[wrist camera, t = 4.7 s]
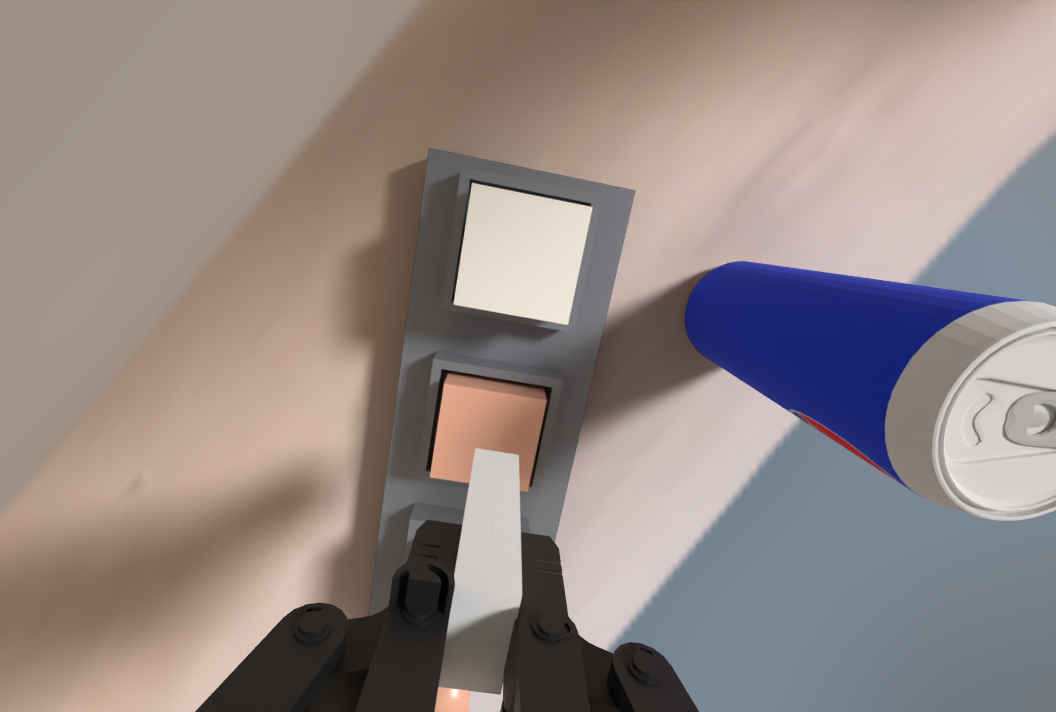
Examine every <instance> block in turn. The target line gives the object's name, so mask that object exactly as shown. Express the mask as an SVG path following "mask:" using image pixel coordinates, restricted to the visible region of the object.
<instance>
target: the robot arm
mask: <svg viewBox="0 0 1056 712" xmlns="http://www.w3.org/2000/svg"><path fill="white" fill-rule="evenodd" d="M560 563H561V561H560V554H559V548H558V547H557V545H556V544H555V543H554V541H553V540H552V538H551V537H550V536H545V535H538V534H531V533H525V532H521V521H520V480H519V455H516V454H510V453H504V452H498V451H491V450H485V449H479V448H475V453H474V459H473V465H472V470H471V476H470V482H469V488H468V493H467V499H466V505H465V510H464V516H463V522H462V525H461V524H455V523H448V522H441V521H434V520H426V521H425V522H424V523H423V524H422V525H421V526H420V527H419V528H418V529H417V530H416V533H415V537H414V540H413V543H412V546H411V549H410V553H409V556H408V559H407V562H406V564H404V565H403V566H401V567H399V568H398V569H397V571H396V572H395V574H394V575H393V577H392V585H391V592H390V599H389V606H388V607H386V608H385V609H384V610H382V611H381V612H378V613H376V614H374V615H371V616H367V617H362V618H355V619H348V620H347V617H346V616H345V614H344V613H343V611H342V610H341V609H339V608H337V607H335V606H334V605H331V604H325V603H314V604H306V605H304V606H301V607H299V608H296V609H294V610H293V611H291V612H290V613H289V614H287V615H286V616H285V617H284V618H283V619H282V620H281V621H280V622H279V623H278V624H277V625H276V626H275V627H274V628H273V629H272V630H271V631H270V632H269V634H268V635H267V636H266V637H265V638H264V639H263V640H262V641H261V642H260V643H259V644H258V645H257V646H256V647H255V648H254V650H253V651H252V652H251V653H250V654H249V655H248V656H247V657H246V658H245V659H244V660H243V661H242V662H241V663H240V664H239V666H238V667H237V668H236V669H235V670H234V671H233V672H232V673H231V674H230V675H229V676H228V677H227V678H226V679H225V680H224V682H223V683H222V684H221V685H220V686H219V687H218V688H217V689H216V690H215V691H214V692H213V693H212V694H211V695H210V696H209V698H208V699H207V700H206V701H205V702H204V703H203V704H202V705H201V706H200V707H199V708H198V709H197V710H196V711H195V712H435V705H436V699H437V693H438V687H443V688H451V689H460V690H468V691H476V692H484V693H493V694H501V689H502V685H503V701H502V706H501V710H500V712H699V711H698V709H697V708H696V706H695V704H694V703H693V701H692V699H691V698H690V696H689V694H688V693H687V691H686V690H685V688H684V686H683V684H682V683H681V681H680V679H679V678H678V676H677V674H676V673H675V671H674V669H673V668H672V666H671V665H670V664H669V663H668V661H667V660H666V659H665V657H664V656H662V655H661V654H660V653H659V652H657V651H656V650H655V649H653V648H651V647H649V646H646V645H644V644H641V643H632V642H629V643H626V644H623V645H620V646H619V647H618V648H617V649H616V650H615V652H614V654H613V653H611V652H608V651H606V650H604V649H601V648H599V647H596V646H594V645H593V644H591V643H589V642H587V641H586V640H585V639H583V638H582V637H581V636H580V635H579V634H578V631H577V629H576V626H575V624H574V623H573V622H572V620H571V619H570V618H569V617H568V611H567V604H566V597H565V590H564V583H563V576H562V568H561V565H560Z"/></svg>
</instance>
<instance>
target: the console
mask: <svg viewBox="0 0 1056 712" xmlns="http://www.w3.org/2000/svg"><path fill="white" fill-rule="evenodd" d="M472 183H475V184H480V185H485V186H490V187H495V188H500V189H505V190H510V191H515V192H520V193H525V194H530V195H535V196H540V197H545V198H550V199H555V200H559V201H564V202H569V203H574V204H579V205H584V206H589V207H593V208H592V213H591V218H590V223H589V227H588V232H587V237H586V242H585V246H584V251H583V256H582V260H581V265H580V270H579V275H578V279H577V284H576V289H575V294H574V298H573V303H572V308H571V313H570V317H569V322H568V325H565V324H559V323H554V322H548V321H543V320H537V319H531V318H526V317H520V316H515V315H509V314H503V313H498V312H492V311H487V310H481V309H475V308H470V307H464V306H459V305H454V298H455V292H456V285H457V278H458V272H459V265H460V259H461V252H462V246H463V239H464V232H465V226H466V219H467V213H468V206H469V200H470V193H471V186H472ZM634 194H635V190H631V189H626V188H621V187H616V186H611V185H606V184H602V183H597V182H592V181H587V180H582V179H577V178H572V177H567V176H563V175H558V174H553V173H548V172H543V171H538V170H533V169H528V168H524V167H519V166H514V165H509V164H504V163H499V162H494V161H489V160H485V159H480V158H475V157H470V156H465V155H460V154H455V153H451V152H446V151H441V150H436V149H431V148H429V151H428V159H427V166H426V174H425V182H424V190H423V197H422V205H421V213H420V220H419V228H418V236H417V243H416V251H415V259H414V267H413V274H412V282H411V290H410V297H409V305H408V313H407V320H406V328H405V336H404V344H403V351H402V359H401V367H400V374H399V382H398V390H397V397H396V405H395V413H394V421H393V428H392V436H391V444H390V451H389V459H388V467H387V474H386V482H385V490H384V498H383V505H382V513H381V521H380V528H379V536H378V544H377V551H376V559H375V567H374V575H373V582H372V590H371V598H370V605H369V613H368V616H371V615H374V614H376V613H378V612H381V611H382V610H384V609H385V608H386V607H388V606H389V599H390V592H391V585H392V577H393V575H394V574H395V572H396V571H397V569H398V568H399V567H401V566H403V565H404V564H406V562H407V559H408V556H409V553H410V549H411V546H412V543H413V540H414V537H415V533H416V530H417V529H418V528H419V527H420V526H421V525H422V524H423V523H424V522H425V521H426V520H434V521H441V522H448V523H455V524H461V525H462V522H463V516H464V510H465V505H466V499H467V493H468V488H469V483H465V482H458V481H451V480H444V479H438V478H431V477H430V472H431V466H432V459H433V453H434V446H435V440H436V433H437V427H438V420H439V414H440V407H441V401H442V394H443V388H444V383H445V380H446V378H447V375H448V373H449V370H451V371H457V372H463V373H469V374H475V375H481V376H487V377H493V378H499V379H505V380H511V381H517V382H523V383H529V384H535V385H541V386H544V391H545V395H546V399H547V402H546V406H545V411H544V416H543V421H542V426H541V430H540V435H539V440H538V445H537V450H536V454H535V459H534V464H533V469H532V474H531V478H530V483H529V488H528V492H525V491H520V521H521V532H525V533H531V534H538V535H545V536H550V537H551V538H552V540H553V541H554V543H555V539H556V534H557V530H558V526H559V521H560V517H561V513H562V508H563V504H564V499H565V495H566V491H567V486H568V482H569V478H570V473H571V469H572V465H573V460H574V456H575V452H576V447H577V443H578V438H579V434H580V430H581V425H582V421H583V417H584V412H585V408H586V404H587V399H588V395H589V390H590V386H591V382H592V377H593V373H594V369H595V364H596V360H597V356H598V351H599V347H600V343H601V338H602V334H603V329H604V325H605V321H606V316H607V312H608V308H609V303H610V299H611V295H612V290H613V286H614V281H615V277H616V273H617V268H618V264H619V260H620V255H621V251H622V247H623V242H624V238H625V233H626V229H627V225H628V220H629V216H630V212H631V207H632V203H633V199H634ZM469 696H470V691H468V690H460V689H451V688H443V687H438V693H437V699H436V705H435V712H468V709H469Z"/></svg>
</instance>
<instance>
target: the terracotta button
mask: <svg viewBox="0 0 1056 712" xmlns="http://www.w3.org/2000/svg"><path fill="white" fill-rule="evenodd" d="M546 402H547V399H546V395H545V391H544V386H541V385H535V384H529V383H523V382H517V381H511V380H505V379H499V378H493V377H487V376H481V375H475V374H469V373H463V372H457V371H451V370H449V373H448V375H447V378H446V380H445V383H444V388H443V394H442V401H441V407H440V414H439V420H438V427H437V433H436V440H435V446H434V453H433V459H432V466H431V472H430V477H431V478H438V479H444V480H451V481H458V482H465V483H469V482H470V476H471V470H472V465H473V459H474V453H475V448H479V449H485V450H491V451H498V452H504V453H510V454H516V455H519V480H520V491H525V492H528V488H529V483H530V478H531V474H532V469H533V464H534V459H535V454H536V450H537V445H538V440H539V435H540V430H541V426H542V421H543V416H544V411H545V406H546Z"/></svg>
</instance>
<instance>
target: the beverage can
mask: <svg viewBox="0 0 1056 712" xmlns="http://www.w3.org/2000/svg"><path fill="white" fill-rule="evenodd" d="M685 325H686V331H687V334H688V337H689V339H690V341H691V343H692V344H693V346H694V347H695V348H696V350H697V351H699V352H700V353H701V354H702V355H703V356H705V357H706V358H708V359H709V360H711V361H712V362H714V363H715V364H717V365H718V366H720V367H722V368H723V369H725V370H726V371H728V372H729V373H731V374H732V375H734V376H735V377H737V378H738V379H740V380H742V381H743V382H745V383H746V384H748V385H749V386H751V387H752V388H754V389H755V390H757V391H758V392H760V393H762V394H763V395H765V396H766V397H768V398H769V399H771V400H772V401H774V402H775V403H777V404H778V405H780V406H782V407H783V408H785V409H786V410H788V411H789V412H791V413H792V414H794V415H795V416H797V417H799V418H800V419H802V420H803V421H805V422H806V423H808V424H810V425H811V426H812V427H814V428H815V429H817V430H819V431H820V432H822V433H823V434H825V435H826V436H828V437H829V438H831V439H832V440H834V441H835V442H837V443H839V444H840V445H842V446H843V447H845V448H846V449H848V450H849V451H851V452H852V453H854V454H856V455H857V456H859V457H860V458H862V459H863V460H865V461H867V462H868V463H869V464H871V465H872V466H874V467H876V468H877V469H879V470H880V471H882V472H883V473H885V474H886V475H888V476H889V477H891V478H892V479H894V480H896V481H897V482H899V483H900V484H902V485H903V486H905V487H906V488H908V489H909V490H911V491H913V492H914V493H916V494H917V495H919V496H920V497H922V498H924V499H926V500H928V501H931V502H933V503H935V504H939V505H942V506H946V507H950V508H954V509H957V510H961V511H964V512H967V513H970V514H973V515H976V516H979V517H983V518H987V519H991V520H1001V521H1012V520H1023V519H1028V518H1033V517H1037V516H1040V515H1043V514H1046V513H1049V512H1052V511H1054V510H1056V307H1054V306H1051V305H1048V304H1044V303H1041V302H1033V301H1027V300H1019V299H1012V298H1005V297H997V296H990V295H983V294H976V293H969V292H962V291H955V290H947V289H940V288H932V287H926V286H919V285H912V284H905V283H897V282H890V281H883V280H876V279H869V278H861V277H854V276H847V275H840V274H833V273H826V272H818V271H811V270H804V269H797V268H790V267H783V266H775V265H768V264H761V263H754V262H746V261H739V262H732V263H727V264H724V265H722V266H719V267H717V268H716V269H714V270H712V271H711V272H709V273H708V274H707V275H705V276H704V277H703V278H702V279H701V280H700V281H699V282H698V284H697V285H696V286H695V288H694V289H693V291H692V293H691V295H690V297H689V300H688V303H687V306H686V311H685Z"/></svg>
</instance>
